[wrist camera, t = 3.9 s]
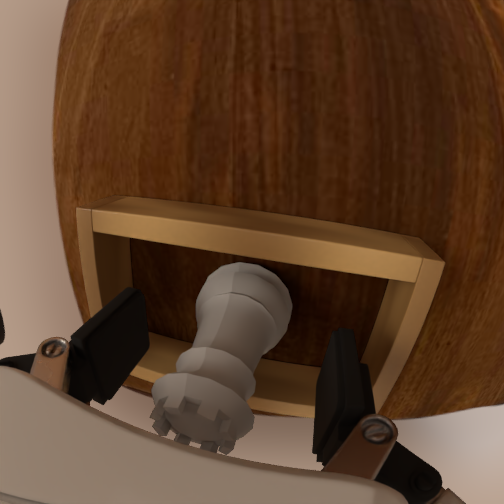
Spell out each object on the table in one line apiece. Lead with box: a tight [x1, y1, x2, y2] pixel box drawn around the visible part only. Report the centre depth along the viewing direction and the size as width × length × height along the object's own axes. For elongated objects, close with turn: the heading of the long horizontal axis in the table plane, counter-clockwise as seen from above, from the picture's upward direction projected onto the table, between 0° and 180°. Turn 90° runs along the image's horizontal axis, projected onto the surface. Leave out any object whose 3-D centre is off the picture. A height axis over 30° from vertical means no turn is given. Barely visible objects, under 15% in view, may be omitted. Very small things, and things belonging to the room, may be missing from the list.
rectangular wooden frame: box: [76, 195, 445, 418], centre depth 13 cm, size 15×9×3 cm, turn 85°
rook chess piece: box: [150, 262, 293, 455], centre depth 10 cm, size 4×4×8 cm
